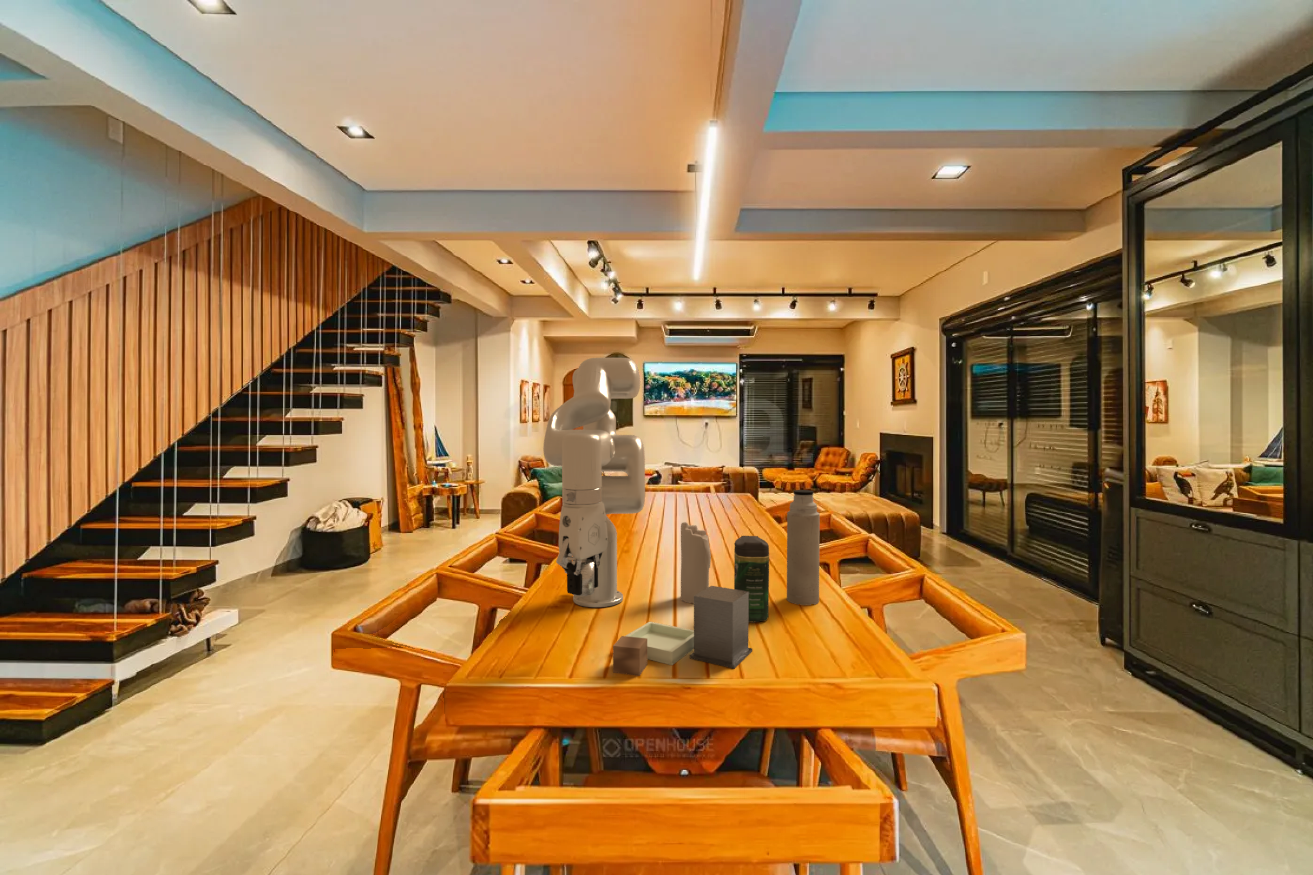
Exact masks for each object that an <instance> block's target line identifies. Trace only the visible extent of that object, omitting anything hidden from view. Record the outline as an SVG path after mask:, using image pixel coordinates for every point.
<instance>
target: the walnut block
mask: <svg viewBox="0 0 1313 875" xmlns="http://www.w3.org/2000/svg"><path fill="white" fill-rule="evenodd" d="M612 654H613V655H612V665H613V666H612V670H613V671H612V673H613V674H622V675H630V676H639V677H640V676H641V675H642V673H643V672H644V670H646V668H647V666H648V659H647V638H638V637H628V636H626V635H621V636H620V638H618V639H617V641H616V642H615V643H614V644H613V646H612Z"/></svg>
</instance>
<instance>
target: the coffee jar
mask: <svg viewBox="0 0 1313 875" xmlns="http://www.w3.org/2000/svg"><path fill="white" fill-rule="evenodd" d="M733 544H734V549H733V550H734V553H733V554H734V558H733V560H734V569H733V571H734V573H733V575H734V578H733V579H734V581H733V589H736V590H742V591H749V611H748V623H759V622H763V621H767V620H768V619H769V602H770V600H769V599H770V598H769V596H770V593H769V591H770V547H769V546H770V545H769V543H768V542H767V541H766V540H764V539H763V538H760V537H759V536H758V535H741V536H740V537H738V538H737V539H735V541H734V543H733Z"/></svg>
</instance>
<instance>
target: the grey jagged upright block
mask: <svg viewBox="0 0 1313 875" xmlns="http://www.w3.org/2000/svg"><path fill="white" fill-rule="evenodd" d="M680 556H681V557H680V561H681V562H680V601H682V602H684V603H688V604H689V603H690V604H694V596H695V595H696V594H698V593H700V592H701V591H703V590H705V589H707V588H708V587H710V568H711V563H712V562H711V560H712V557H711V556H712V553H711V549H710V539H709V535H707V532H706V530H704V529H701V530H699V527H698V526H697V525H694V524H693V525H692V524H691V525H689V523H688V522H687V521H684V522H681V524H680Z"/></svg>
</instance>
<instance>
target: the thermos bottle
mask: <svg viewBox="0 0 1313 875" xmlns="http://www.w3.org/2000/svg"><path fill="white" fill-rule="evenodd" d="M813 495H814V491H813V490H808V489H798V490H797V489H796V490H793V501H792V502H790V504H789V511H787V513H786V514H787V515H786V522H787V523H786V601H788V602H789V603H791V604H795V605H799V604H800V606H812V605H811V604H814V605H817V604H819V602H820V531H821V530H820V526H821V524H820V522H821V521H820V517H821V516H820V515H821V514H820V512H818V505H817V503H815V502H814V496H813Z"/></svg>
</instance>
